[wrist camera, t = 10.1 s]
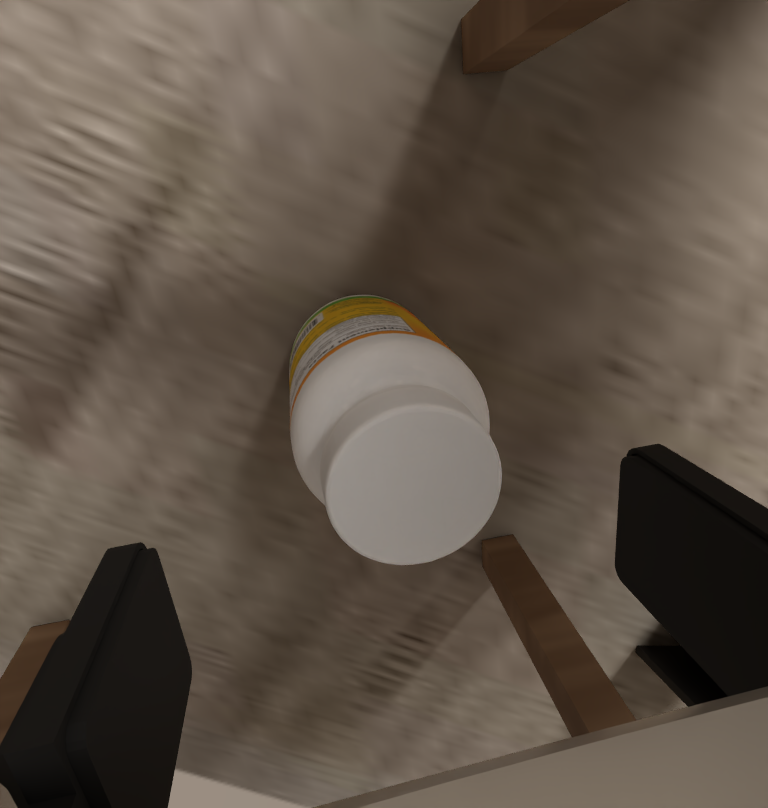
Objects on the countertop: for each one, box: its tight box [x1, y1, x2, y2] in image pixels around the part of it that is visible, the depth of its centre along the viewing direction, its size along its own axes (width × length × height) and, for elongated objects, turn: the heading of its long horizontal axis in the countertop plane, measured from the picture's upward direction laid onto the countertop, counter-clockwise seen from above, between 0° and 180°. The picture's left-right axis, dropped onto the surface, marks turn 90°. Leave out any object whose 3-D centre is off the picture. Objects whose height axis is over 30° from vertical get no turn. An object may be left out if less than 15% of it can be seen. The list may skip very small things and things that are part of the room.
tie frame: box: [0, 0, 636, 744], centre depth 15 cm, size 22×21×11 cm
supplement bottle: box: [289, 295, 502, 565], centre depth 16 cm, size 5×5×10 cm
